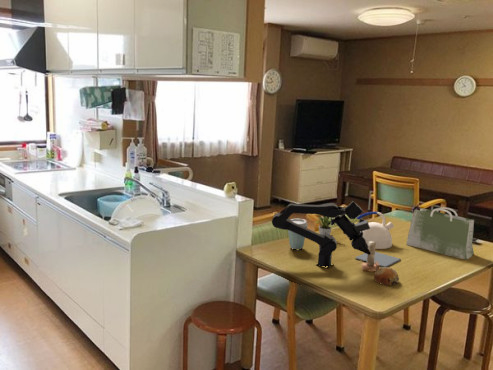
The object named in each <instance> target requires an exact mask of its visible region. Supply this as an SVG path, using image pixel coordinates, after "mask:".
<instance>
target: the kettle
mask: <svg viewBox="0 0 493 370" xmlns="http://www.w3.org/2000/svg"><path fill="white" fill-rule="evenodd" d="M370 215H378V216H380V217H381V218H382V223H379V222H375V221H374V222H373V221H372V222H368V224H369V227H370V229H368V230H364V231H363V237H364V238H365V240H366V243H367V245H369V242H370V241H373V242H376V248H375V250H385V249H390V248H391V247H392V246H393V237H392V234H391V232H390V230H391V229H392V228H393V227H395V226H394V224H393V222H391V221H389V222H388V223H387V224H386V222H387V219H386V217H385V214H383V213H382V212H379V211H368V212H363V213H361V214H360V215H359V216H358V217H357V218H355V220H359V219H363V218H364V217H367V216H370Z"/></svg>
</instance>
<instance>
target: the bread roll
mask: <svg viewBox="0 0 493 370" xmlns="http://www.w3.org/2000/svg"><path fill="white" fill-rule="evenodd" d="M375 280H376V281H375ZM399 280H400V277H399V275H398V272H397V270H396V269H393V268H392V267H390V266H388V267H379V269H378V270H377V271H376V272H374V281H375V282H377V283H378V282H379V283H378V284H380V283H381V284H380V285H383V284H384V285H383V286H387V285H393V286H396V285H397V284H398V283H399ZM395 284H396V285H395Z"/></svg>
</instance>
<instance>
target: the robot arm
mask: <svg viewBox="0 0 493 370" xmlns="http://www.w3.org/2000/svg"><path fill="white" fill-rule="evenodd" d="M293 214H305V215H306V214H307V215H317V214H318V215H319V216H321V217H323V216H325V217H329V218H331V224H330V226H334V224H335V225H336V226H337V227H338V228H340V230H341V231H342V233H343V235H346V236H347V238H348V240H349V241H350V244H351V247H352V249H354V250H357V251H359V252H361V253H363V254H364V253H366V254H368V255H370V254H371V253H370V251H369V249H368V245H367V243H366V240H365V238H364V237H363V231H364V230H368V229H370V227H369V224H368V223H369V222H368V220H367V219H363V218H360V219H358V222H357V223H354V222H353V221H351V220H356V218H357V217H358V216H360V215H362V214H364V210H363V209H362V208H361V206H360V205H358V204H357V203H356V202H355V201H354V200H352V201H351V202H350V203H349V204H348V205H347V206H345V207H344V206H341V205H337V204H336V203H334V202H329V203H322V204H300V203H299V204H297V203H289V204H288V205H287V206H286V207H285V208H283V209H282V210H281V211H280V212H277V213H275V214H274V215H273V217H272V219H271V223H272V226H273V227H274V228H276V229H280V230H284V231H288V230H290V231H292V232H294V233H296V234H298V235H301V236H303V237H305V239H308V240H310V241H312V242H314V243H315V244H318V249H319V251H318V256H317V258H318V259H317V263H318V265H320V266H319V267H321V266H325V267H326V266H328V268H330V267H329V266H331V263H332V255H333V252H335V251H336V250H337V247H338V246H337V245H338V243H337V240H336V238H335V236H334V235H333V234H330V235H329V234H328V233H326V232H325V233H324V234H319V233H318V232H316V231H314V230H313V229H310V228H308V227H307V228H305V227H303V226H301V225H299V224H296V223H294V222H292V221H291V219H290V217H291V216H292V215H293ZM332 264H333V266H334V263H332ZM318 265H317V266H318ZM331 267H332V266H331Z"/></svg>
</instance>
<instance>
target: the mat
mask: <svg viewBox="0 0 493 370" xmlns="http://www.w3.org/2000/svg"><path fill="white" fill-rule="evenodd" d="M367 256H368V254H366V253H364V252H363V254H360V255H357V256H355V257H354V259H355V258H356V259H355V260H357V259H359V260H358V261H360V260H362V261H361V262H363V261H366V262H365V263H367ZM375 261H376V262H378V263H379V268H383V267H391V266H392V265H394V264H396V263H398V262H400V261H401V258H399V257H395V256H392V255H388V254H385V253H381V252H378V251H375V258H374V264H375Z"/></svg>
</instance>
